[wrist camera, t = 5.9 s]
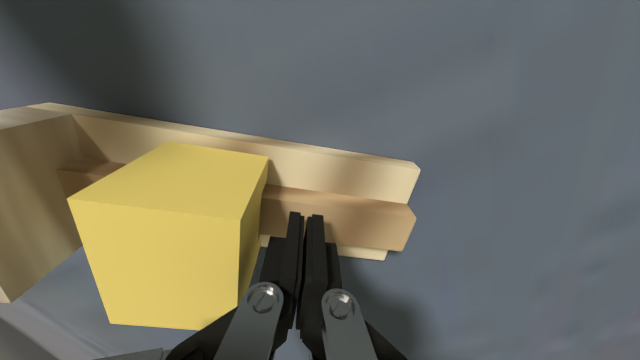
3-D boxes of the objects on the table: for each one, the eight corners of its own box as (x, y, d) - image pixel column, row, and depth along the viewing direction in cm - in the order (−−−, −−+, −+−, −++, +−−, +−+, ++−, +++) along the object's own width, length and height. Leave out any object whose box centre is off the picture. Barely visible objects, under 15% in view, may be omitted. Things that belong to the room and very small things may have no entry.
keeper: (268, 156, 12) (240, 220, 7) (261, 243, 15) (236, 332, 10) (168, 141, 12) (66, 198, 7) (178, 234, 14) (110, 323, 10)
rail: (412, 161, 14) (475, 225, 9) (379, 248, 17) (410, 335, 12) (49, 102, 12) (-166, 137, 7) (85, 212, 15) (-44, 298, 10)
